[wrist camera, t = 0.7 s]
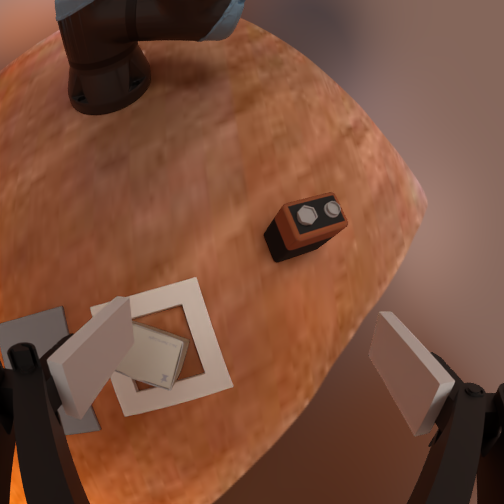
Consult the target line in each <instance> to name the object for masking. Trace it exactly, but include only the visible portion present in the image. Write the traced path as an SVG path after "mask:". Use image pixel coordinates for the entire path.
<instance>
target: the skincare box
mask: <svg viewBox="0 0 504 504" xmlns="http://www.w3.org/2000/svg"><path fill="white" fill-rule="evenodd" d="M132 326H133V334H134V342H135V343H134V344H133V346H132V347H131V349H130V350H129V351H128V353H127V354H126V356H125V357H124V358H123V360H122V361H121V363H120V364H119V365H118V367H117V368H116V370H115V372H117V373H120V374H122V375H125V376H127V377H130V378H132V379H135V380H138V381H141V382H143V383H146V384H149V385H152V386H155V387H159V388H162V389H165V390H168V391H171V390H172V388H173V386H174V384H175V382H176V380H177V378H178V376H179V374H180V372H181V369H182V366H183V363H184V360H185V356H186V353H187V349H188V345H189V341H190V340H189V339H186V338H183V337H180V336H178V335H175V334H172V333H169V332H166V331H163V330H160V329H158V328H155V327H152V326H149V325H146V324H143V323H139V322H134V321H132Z"/></svg>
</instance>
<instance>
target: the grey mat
mask: <svg viewBox="0 0 504 504" xmlns="http://www.w3.org/2000/svg"><path fill="white" fill-rule="evenodd" d="M67 335H69V331H68V327H67V322H66V318H65V314H64V309H63V306H60V307H57V308H53V309H50V310H46V311H43V312H39V313H36V314H32V315H29V316H25V317H22V318H18V319H15V320H11V321H8V322H4V323H1V324H0V348H1V352H2V356H3V361H4V365H5V368H6V369H12V367H11V364H10V361H9V358H8V355H7V351H8V349H9V348H10V347H11V346H13V345H15V344H17V343H21V342H28V343H32V344H33V345H35V347H36V350H37V353H38V357H39V359H40V358H41V357H42V356H43V355H44V354H45V353H46V352H47V351H48V350H49V349H52V347H53V346H54V345H55V344H57V342H58V341H60V340H61V339H62V338H63V337H65V336H67ZM58 412H59V414H60V417H61V421H62V425H63V429H64V433H65V435H71V434H79V433H86V432H92V431H99V430H101V427H100V425H99V423H98V420H97V418H96V415H95V413H94V410H93V408H92V405H91V406H90V407H89V409H88V410H87V412H86V413H85V415H84V416H83V418H82V419H81V420H80V419H77V418H74V417H72V416H69V415H66V413H65V411H64V408H63V406H62V405H61V406H60V407H59V409H58Z"/></svg>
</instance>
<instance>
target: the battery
mask: <svg viewBox="0 0 504 504" xmlns="http://www.w3.org/2000/svg"><path fill="white" fill-rule="evenodd" d="M347 225H348V221H347V219H346V217H345V215H344V212H343V210H342V208H341V206H340V204H339V202H338V200H337V198H336V196H335V194H334V193H332V192H330V193H325V194H321V195H317V196H313V197H309V198H305V199H301V200H297V201H294V202H290V203H286V204H284V205H283V206H282V208H281V209H280V210H279V212H278V213H277V215H276V216H275V218H274V219H273V221H272V222H271V224H270V225H269V227H268V228H267V230H266V231H265V233H264V236H265V239H266V241H267V244H268V246H269V249H270V252H271V254H272V257H273V259H274V261H275V262H280V261H283V260H286V259H289V258H292V257H295V256H298V255H301V254H304V253H307V252H310V251H313V250H316V249H318V248H319V247H320V246H322V245H323V244H324V243H326V242H327V241H328V240H330V239H331V238H332V237H334V236H335V235H336V234H338V233H339V232H340V231H341V230H343V229H344V228H345V227H347Z"/></svg>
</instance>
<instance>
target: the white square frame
mask: <svg viewBox="0 0 504 504" xmlns="http://www.w3.org/2000/svg"><path fill="white" fill-rule="evenodd" d="M128 298H130V307H131V317H132V319H136V318H139V317H143V316H146V315H150V314H153V313H157V312H160V311H164V310H167V309H171V308H174V307H178V306H181V305H183V309H184V312H185V315H186V318H187V321H188V324H189V327H190V331H191V334H192V337H193V340H194V343H195V345H196V348H197V351H198V354H199V357H200V360H201V363H202V365H203V368H204V371H205V372H204V373H201V374H197V375H194V376H191V377H187V378H184V379H180V380H177V381H176V382H175V384H174V386H173V388H172V390H171V391H168V390H165V389H162V388H159V387H151V388H147V389H143V390H138V387H137V384H136V382H135V379H132V378H130V377H127V376H125V375H122V374H120V373H117V372H115V371H114V372H113V374H112V375H111V377H110V378H111V381H112V384H113V387H114V390H115V393H116V395H117V398H118V401H119V403H120V406H121V408H122V411H123V413H124V416H125V417H127V416H131V415H136V414H140V413H144V412H149V411H153V410H157V409H161V408H165V407H168V406H172V405H176V404H180V403H183V402H187V401H190V400H194V399H197V398H200V397H204V396H207V395H210V394H213V393H216V392H219V391H222V390H225V389H228V388H231V387H234V386H233V384H232V381H231V378H230V375H229V373H228V370H227V367H226V364H225V362H224V359H223V356H222V353H221V350H220V348H219V345H218V342H217V339H216V336H215V333H214V330H213V327H212V324H211V321H210V318H209V315H208V312H207V309H206V306H205V303H204V300H203V297H202V294H201V290H200V287H199V284H198V281H197V278H196V277H194V278H191V279H187V280H184V281H181V282H177V283H174V284H170V285H167V286H163V287H160V288H156V289H153V290H149V291H146V292H142V293H139V294H135V295H132V296H128ZM109 303H110V302H107V303H104V304H100V305H96V306H93V307H90V309H91V313H92V317H94V316H95V315H96V314H97V313H98V312H99V311H101V310H102V309H103V308H104V307H105V306H106V305H107V304H109Z"/></svg>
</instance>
